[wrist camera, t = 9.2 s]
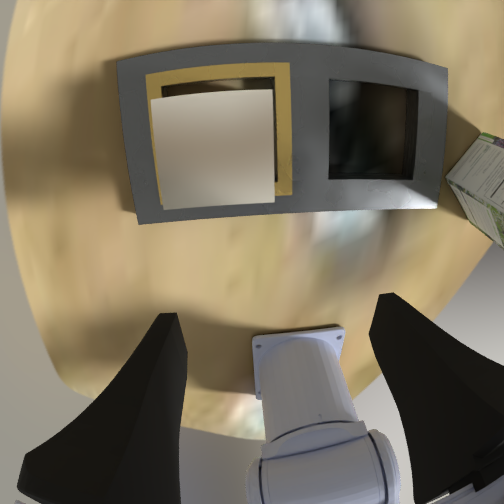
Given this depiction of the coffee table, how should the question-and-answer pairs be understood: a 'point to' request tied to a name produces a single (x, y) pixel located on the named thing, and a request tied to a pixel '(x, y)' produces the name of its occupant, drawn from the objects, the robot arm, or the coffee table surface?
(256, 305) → the coffee table surface
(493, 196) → the syrup box
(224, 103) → the peg
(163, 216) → the rail
